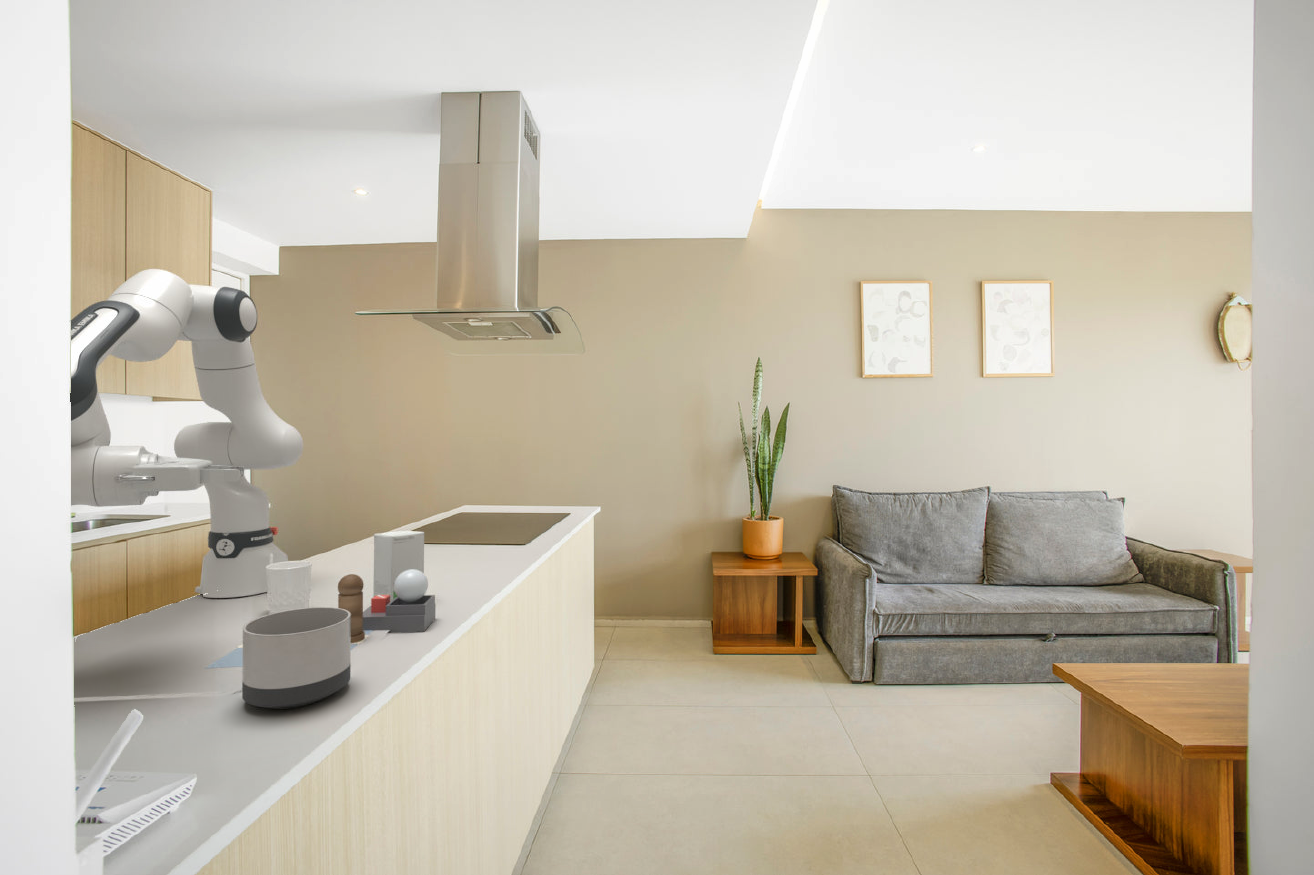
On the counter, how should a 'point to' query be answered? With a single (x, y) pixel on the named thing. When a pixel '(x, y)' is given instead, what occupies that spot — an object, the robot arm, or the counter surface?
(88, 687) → the counter surface
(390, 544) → the skincare box
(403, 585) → the ball
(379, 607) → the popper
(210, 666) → the board
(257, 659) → the planter
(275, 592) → the white cup
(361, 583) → the brown pepper mill
